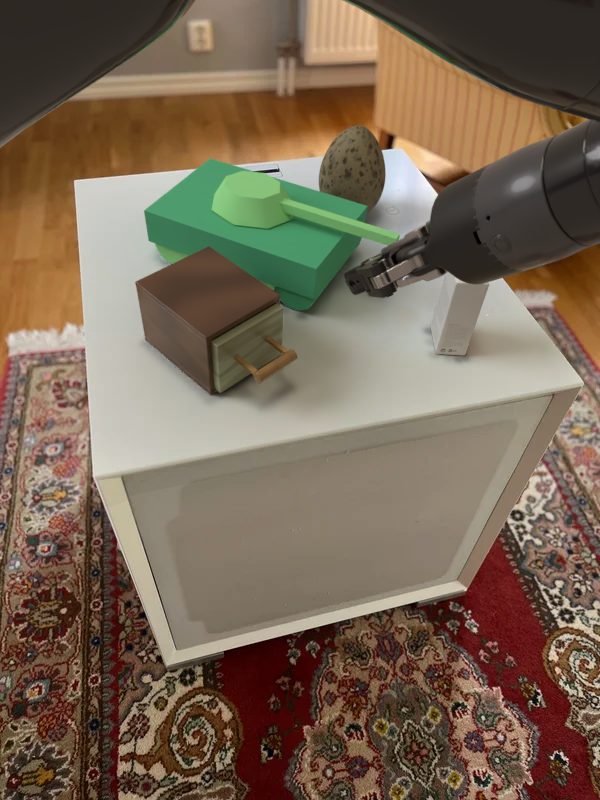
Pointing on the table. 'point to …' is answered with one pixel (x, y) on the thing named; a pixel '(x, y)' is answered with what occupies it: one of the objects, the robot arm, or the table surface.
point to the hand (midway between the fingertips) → (358, 278)
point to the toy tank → (262, 228)
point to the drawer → (250, 349)
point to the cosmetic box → (456, 315)
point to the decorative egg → (354, 167)
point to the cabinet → (198, 308)
